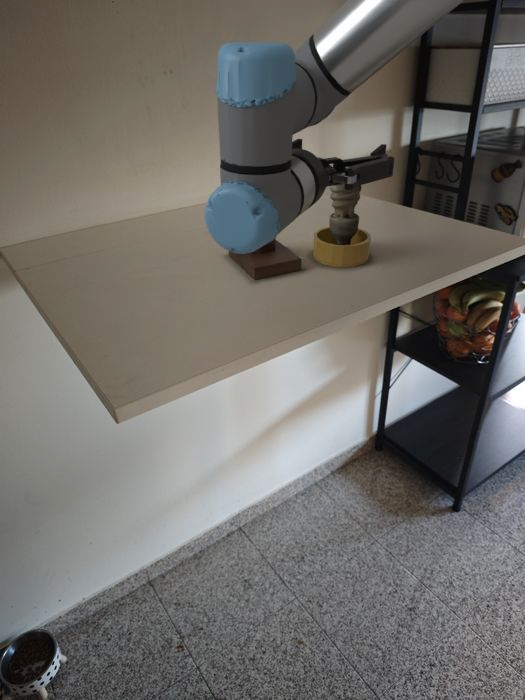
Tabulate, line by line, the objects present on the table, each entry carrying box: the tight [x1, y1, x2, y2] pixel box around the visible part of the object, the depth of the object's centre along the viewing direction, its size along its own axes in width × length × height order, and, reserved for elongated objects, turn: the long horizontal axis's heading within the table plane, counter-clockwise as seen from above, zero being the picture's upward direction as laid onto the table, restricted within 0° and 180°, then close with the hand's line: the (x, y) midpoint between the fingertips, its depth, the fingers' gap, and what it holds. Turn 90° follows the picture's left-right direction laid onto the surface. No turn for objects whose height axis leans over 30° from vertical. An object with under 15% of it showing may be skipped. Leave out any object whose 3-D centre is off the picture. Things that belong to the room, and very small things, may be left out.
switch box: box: [228, 237, 302, 281], centre depth 90 cm, size 12×9×4 cm
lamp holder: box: [312, 226, 372, 268], centre depth 92 cm, size 10×10×4 cm
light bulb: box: [328, 183, 362, 245], centre depth 88 cm, size 6×6×15 cm
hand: (340, 150), depth 78 cm, fingers open, 13 cm apart
